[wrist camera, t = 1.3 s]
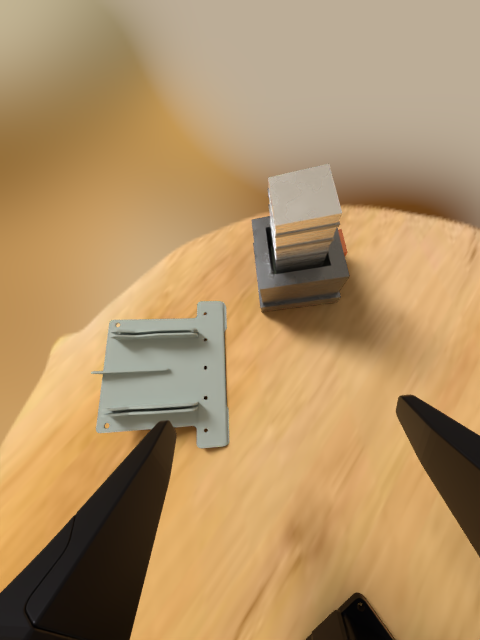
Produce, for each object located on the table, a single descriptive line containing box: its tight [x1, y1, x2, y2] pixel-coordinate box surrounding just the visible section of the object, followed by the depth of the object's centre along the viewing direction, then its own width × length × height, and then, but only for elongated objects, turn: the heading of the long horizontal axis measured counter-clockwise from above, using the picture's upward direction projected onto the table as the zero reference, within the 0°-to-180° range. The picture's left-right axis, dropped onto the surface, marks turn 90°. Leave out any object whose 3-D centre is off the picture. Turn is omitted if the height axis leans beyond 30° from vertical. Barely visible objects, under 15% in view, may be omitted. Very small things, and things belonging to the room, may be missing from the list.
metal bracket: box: [91, 301, 229, 448], centre depth 23 cm, size 14×6×15 cm
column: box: [268, 164, 342, 274], centre depth 18 cm, size 4×4×9 cm
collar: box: [252, 216, 349, 312], centre depth 21 cm, size 8×8×6 cm
